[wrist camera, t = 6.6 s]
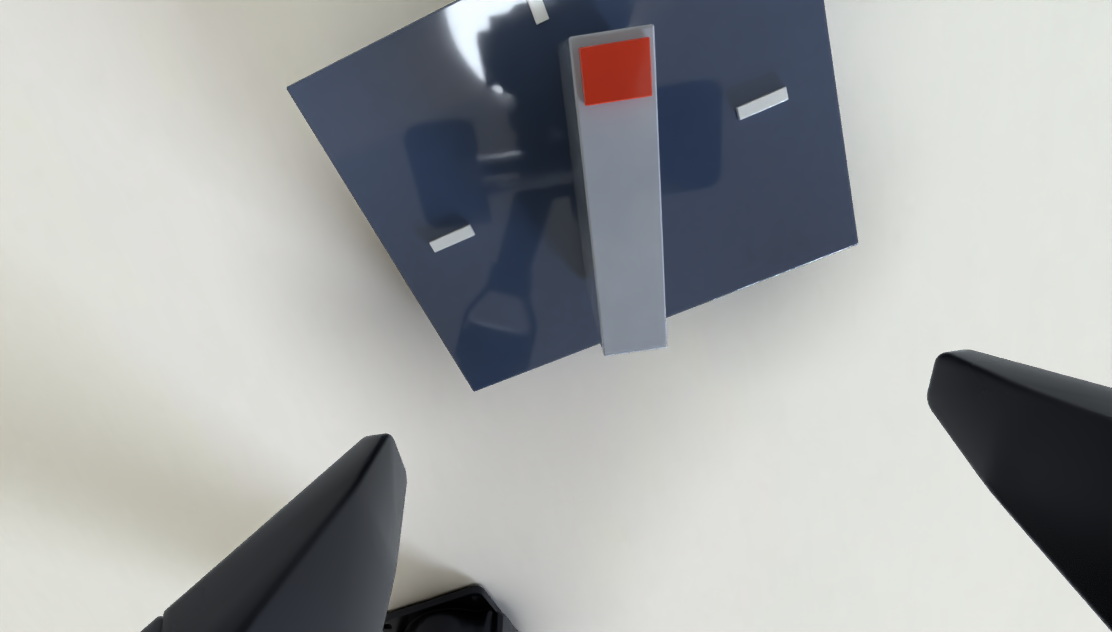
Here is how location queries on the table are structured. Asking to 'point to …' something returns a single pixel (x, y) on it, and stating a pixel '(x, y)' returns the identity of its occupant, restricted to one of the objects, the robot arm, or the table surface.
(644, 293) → the gray bar
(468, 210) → the tap base
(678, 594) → the table surface
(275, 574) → the robot arm
